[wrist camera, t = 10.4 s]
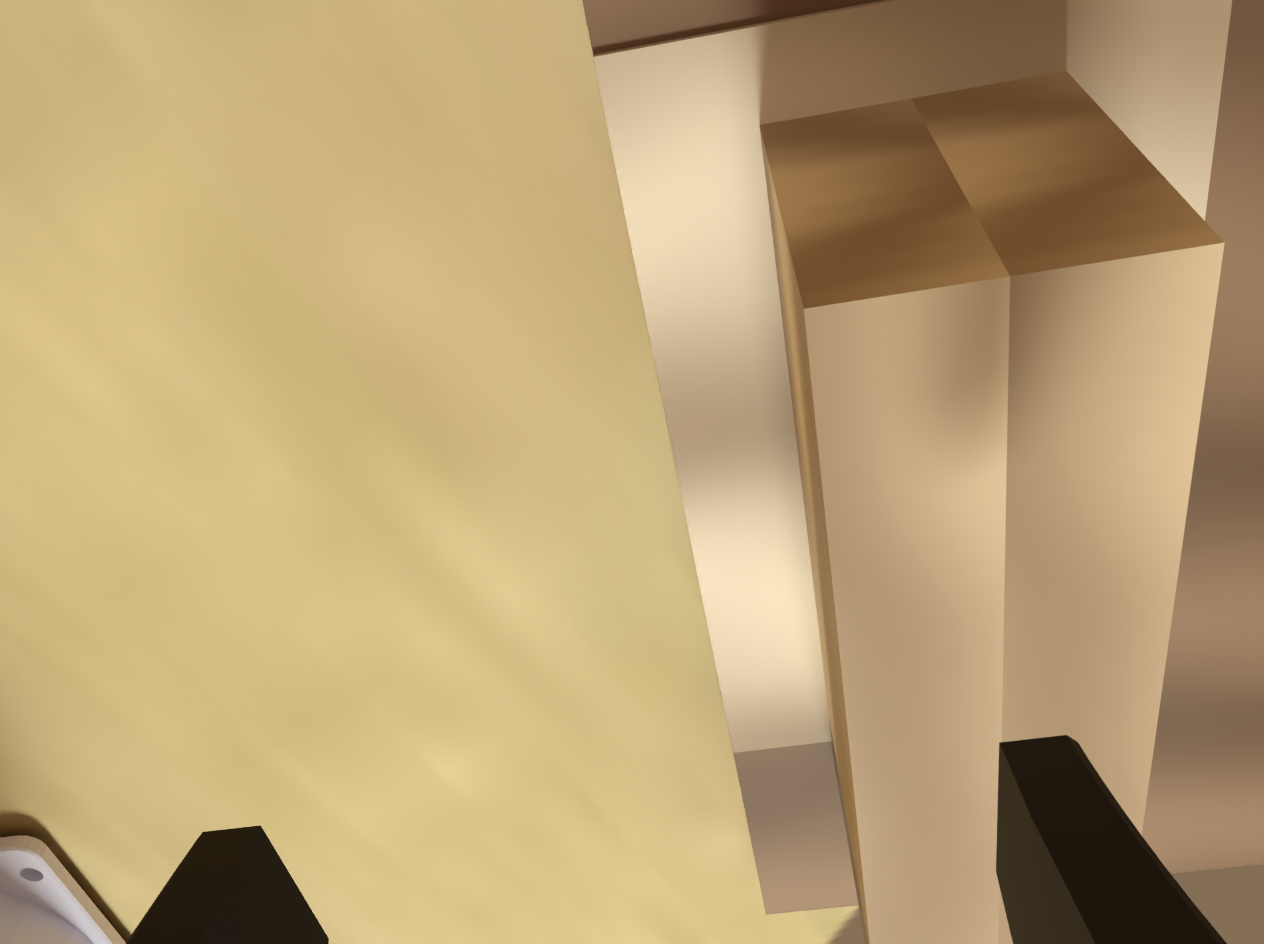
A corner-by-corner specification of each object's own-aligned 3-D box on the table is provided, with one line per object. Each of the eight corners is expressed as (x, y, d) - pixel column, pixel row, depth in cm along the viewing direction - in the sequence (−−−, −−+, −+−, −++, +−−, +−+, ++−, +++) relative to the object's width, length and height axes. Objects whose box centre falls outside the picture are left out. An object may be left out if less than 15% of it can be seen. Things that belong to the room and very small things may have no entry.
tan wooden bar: (1067, 70, 15) (1224, 242, 11) (1036, 745, 23) (1120, 986, 19) (759, 125, 15) (803, 308, 11) (834, 769, 23) (876, 1008, 19)
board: (1473, 801, 26) (1502, 843, 25) (762, 876, 28) (766, 918, 27) (1975, -419, 13) (2072, -421, 12) (563, -129, 15) (559, -112, 14)
